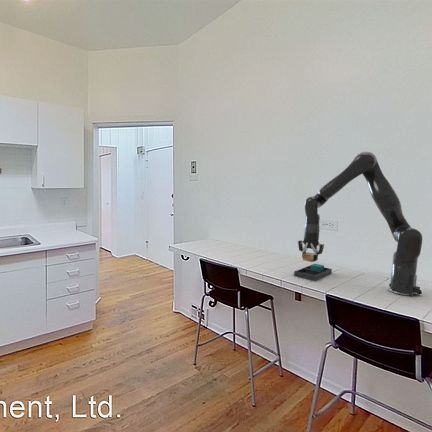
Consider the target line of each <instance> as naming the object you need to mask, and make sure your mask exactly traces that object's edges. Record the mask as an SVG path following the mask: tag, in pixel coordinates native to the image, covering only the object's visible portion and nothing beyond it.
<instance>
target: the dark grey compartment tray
mask: <svg viewBox="0 0 432 432" xmlns="http://www.w3.org/2000/svg"><path fill="white" fill-rule="evenodd" d="M311 265H312V264H310V265H307V266H305V267H302V268H300V269H296V270H294V271H293V272H294V273H293V276H294V277H297V278H302V279H306V280H310V281H312V282H313V281H317V280H320V279H322V278H324V277H326V276H328V275H331V274H332V273H333V268H329V267H325V266H324V272H320V271H315V270H311V269H310V266H311Z"/></svg>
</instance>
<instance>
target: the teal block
mask: <svg viewBox="0 0 432 432" xmlns="http://www.w3.org/2000/svg"><path fill="white" fill-rule="evenodd" d="M310 265H311V266H310ZM310 265H309V266H310V269H311V270H315V271H320V272H324V267H325V265H323V264H319V263H312V264H310Z"/></svg>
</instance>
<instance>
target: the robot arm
mask: <svg viewBox="0 0 432 432" xmlns="http://www.w3.org/2000/svg"><path fill="white" fill-rule="evenodd" d="M361 175H362V176H363V178H364V179H365V181H366V182H367V187H368V190H369V193H370V196H371V198H372V200H373V202H374V204H375V206H376V207H377V209H378V210H379V212H380V213H381V215H382V216H383V218H384V219H385V221H386V223H387V226H388V228H389V230H390V232H391V235H392V238H393V239H394V241H395V242H396V243H397V245H396V250H395V251H394V252H393V255H392V265H391V273H390V274H391V275H390V283H389V284H388V287H389V291H390V292H391V293H393V294H397V295H401V296H407V297H413V296H414V295H415V294H417V295H418V296H419V295H421V294H422V293H423V291H422V290H421V287H420V286H418V285H417V279H418V275H417V269H418V260H419V257H420V255H421V252H422V247H423V246H422V245H423V234H422V233H421V231H420V230H418V229H416V228H413V227H412V226H411V225H410V224H409V222H408V221H407V219H406V218H405V216H404V213H403V210H402V204H401V203H402V202H401V201H400V198H399V197H398V195H397V193H396V191H395V190H394V188H393V186H392V185H391V183H390V182H389V180H388V179H387V178H386V176H385V174H384V173H383V171H382V169H381V167H380V164H379V162H378V158H377V157H376V155H375V154H374V153H372V152H370V151H362V152H359V153H358V154H357V155H356V156H354V158H353V160H352V162H351V163H349V164H348V166H347V167H345V168H344V169H343V171H341V172H340V173H339V174H337V175H336V176H334V177H333V178H332V179H331V180H329V181H328V182H327V183H325V184H324V185H323V186H322V187H321V188H320V189H319V190H318V192H317V193H316V194H315V195H313V196H308V197H307V198H306V199H305V201H304V213H305V222H304V229H303V240H298V241H297V244H298V251H299V252H301V253H302V254H301V258H302V259H303V253H306V252H307V250H308V249H311V250H312V252H313V253H314V254H315V255H314V262H317V261H318V259H319V255H322V254H323V252H324V248H325V244H324V243H320V241H319V239H320V230H321V229H320V218H321V215H320V214H319V213H318V211H319V208H321V207H322V206H324V205H325V204H326V203H327V202H328V201H329V199H331V198H332V197H334V196H335V195H336V194H338V192H340V191H341V190H343V188H345V187H346V186H347V185H348V184H349V183H350V182H352V181H353V180H354V179H356V178H357V177H360V176H361Z"/></svg>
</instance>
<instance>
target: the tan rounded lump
mask: <svg viewBox="0 0 432 432" xmlns="http://www.w3.org/2000/svg"><path fill="white" fill-rule="evenodd" d="M314 255H315V254H314V252H310V251H306V253H303V258H302V261H305V262H309V263H314V262H315V261H314Z"/></svg>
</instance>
